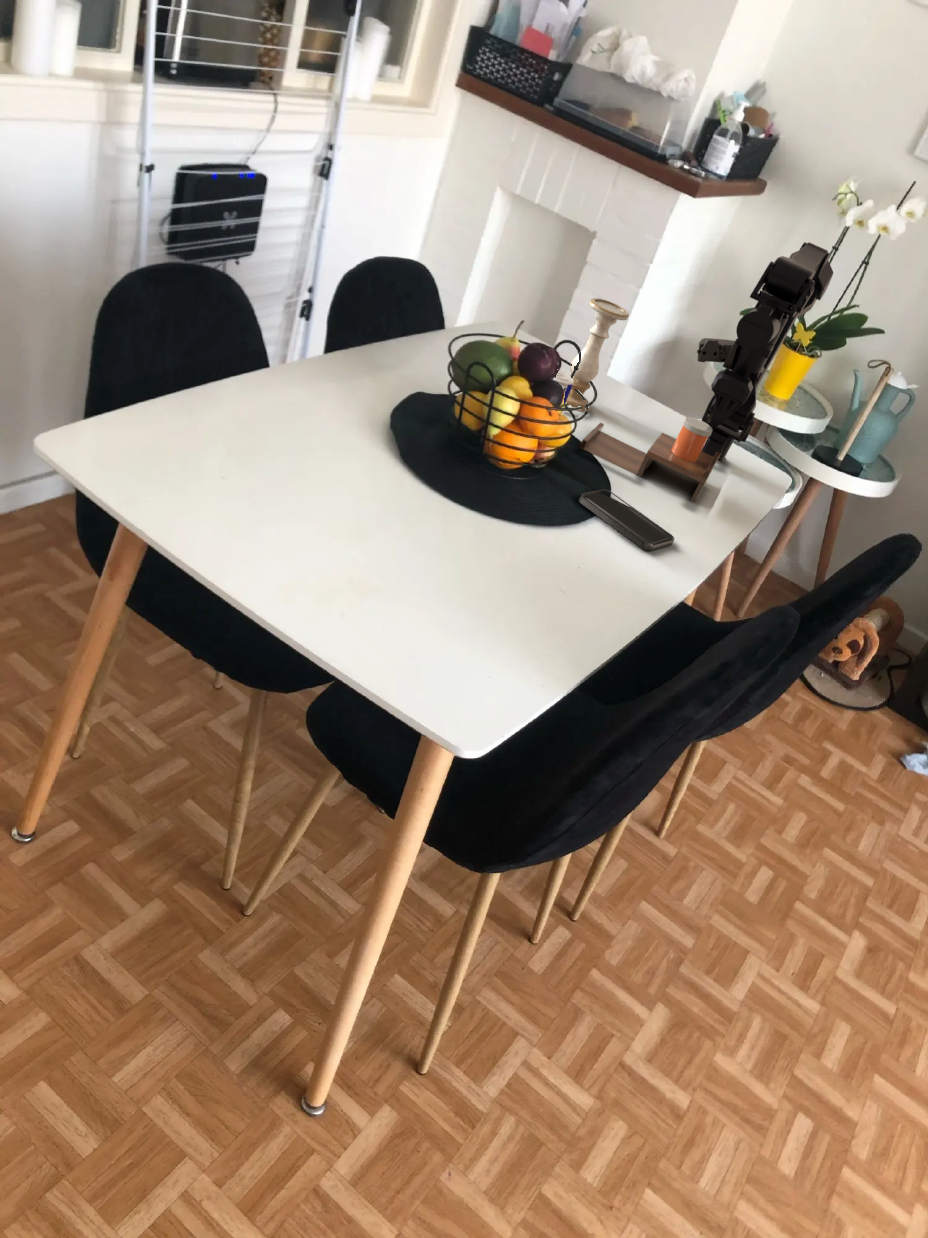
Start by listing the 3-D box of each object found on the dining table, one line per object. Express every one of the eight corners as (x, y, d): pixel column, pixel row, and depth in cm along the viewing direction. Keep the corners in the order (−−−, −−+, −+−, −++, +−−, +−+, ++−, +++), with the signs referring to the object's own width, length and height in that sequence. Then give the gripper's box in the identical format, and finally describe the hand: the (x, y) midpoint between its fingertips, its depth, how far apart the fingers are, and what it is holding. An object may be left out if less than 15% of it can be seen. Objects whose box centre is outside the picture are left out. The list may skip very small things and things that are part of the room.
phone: (650, 546, 152) (578, 493, 159) (647, 552, 152) (576, 499, 159) (677, 538, 157) (607, 488, 164) (674, 544, 158) (604, 494, 165)
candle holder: (541, 402, 191) (582, 300, 180) (554, 391, 198) (594, 292, 187) (583, 421, 190) (626, 320, 179) (594, 410, 197) (637, 312, 186)
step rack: (594, 435, 186) (610, 400, 182) (703, 487, 182) (721, 453, 179) (576, 452, 176) (592, 416, 172) (691, 509, 172) (710, 472, 169)
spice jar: (673, 444, 178) (688, 414, 175) (699, 457, 177) (714, 426, 174) (668, 452, 174) (683, 421, 170) (694, 465, 173) (710, 434, 170)
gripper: (724, 307, 177) (685, 388, 185) (704, 326, 161) (663, 413, 170) (782, 334, 175) (740, 414, 183) (768, 356, 159) (724, 442, 168)
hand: (716, 420), depth 176 cm, fingers open, 9 cm apart
